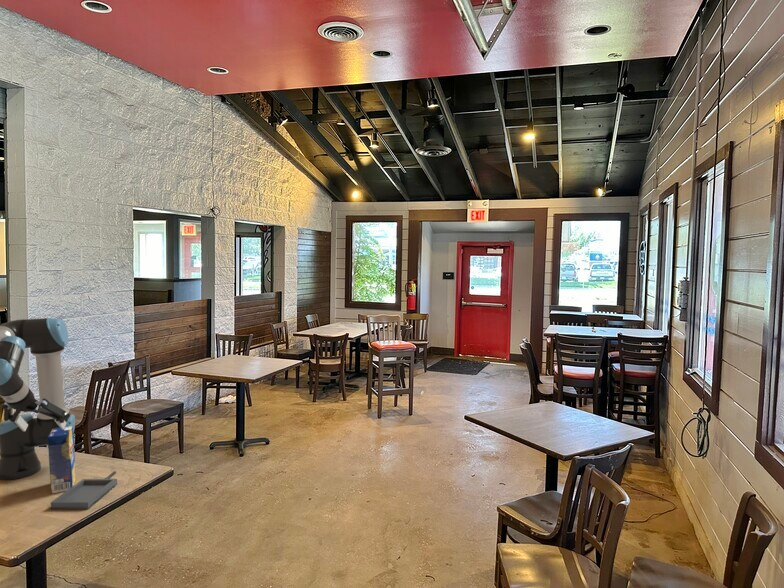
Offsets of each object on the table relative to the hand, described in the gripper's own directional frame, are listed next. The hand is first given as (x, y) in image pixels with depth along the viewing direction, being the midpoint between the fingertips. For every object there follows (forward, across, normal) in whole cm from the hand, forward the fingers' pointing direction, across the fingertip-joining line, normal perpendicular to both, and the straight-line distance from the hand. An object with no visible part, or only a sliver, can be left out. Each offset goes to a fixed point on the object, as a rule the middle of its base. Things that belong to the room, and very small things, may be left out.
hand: (45, 427), depth 192 cm
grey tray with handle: (+25, +13, -13) cm, 31 cm away
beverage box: (+28, -1, -10) cm, 29 cm away
